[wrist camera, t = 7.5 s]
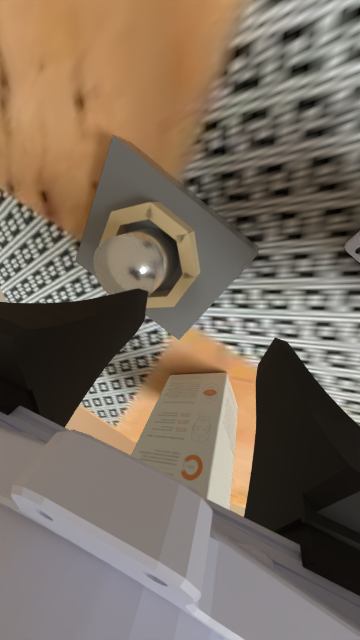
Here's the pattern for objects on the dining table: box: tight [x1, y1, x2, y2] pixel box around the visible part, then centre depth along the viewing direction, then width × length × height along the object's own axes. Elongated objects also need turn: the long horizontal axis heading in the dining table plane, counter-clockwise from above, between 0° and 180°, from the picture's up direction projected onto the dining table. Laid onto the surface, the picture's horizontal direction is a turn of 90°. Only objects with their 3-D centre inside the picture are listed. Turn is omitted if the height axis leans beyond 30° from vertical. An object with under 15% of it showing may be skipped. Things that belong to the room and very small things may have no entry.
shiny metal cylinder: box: [94, 227, 178, 296], centre depth 16 cm, size 4×4×5 cm
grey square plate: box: [76, 135, 258, 340], centre depth 18 cm, size 13×11×4 cm
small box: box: [131, 372, 238, 510], centre depth 22 cm, size 8×6×13 cm
